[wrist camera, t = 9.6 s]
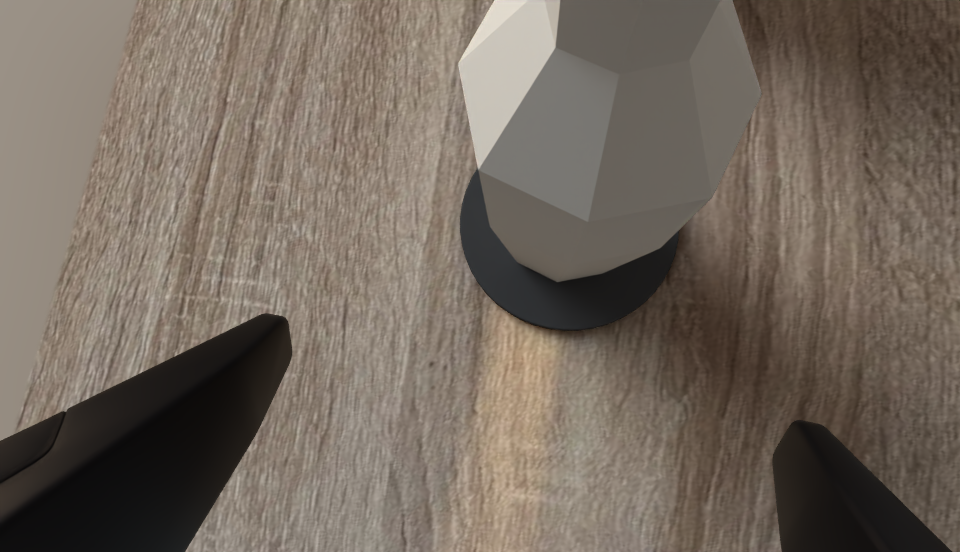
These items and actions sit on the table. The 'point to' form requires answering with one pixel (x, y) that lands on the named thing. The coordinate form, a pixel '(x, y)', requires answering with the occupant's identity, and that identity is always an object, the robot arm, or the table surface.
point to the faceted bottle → (603, 123)
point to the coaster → (544, 297)
